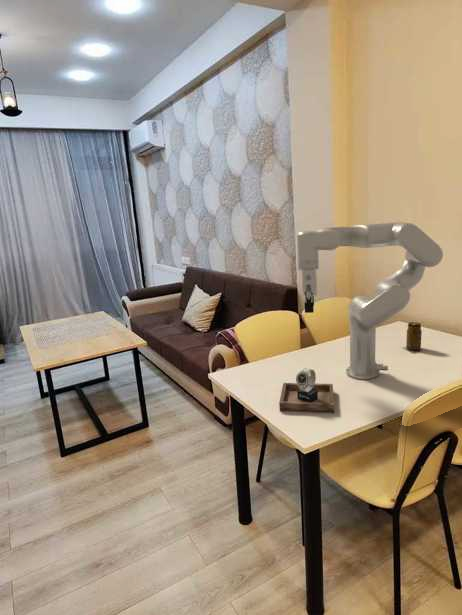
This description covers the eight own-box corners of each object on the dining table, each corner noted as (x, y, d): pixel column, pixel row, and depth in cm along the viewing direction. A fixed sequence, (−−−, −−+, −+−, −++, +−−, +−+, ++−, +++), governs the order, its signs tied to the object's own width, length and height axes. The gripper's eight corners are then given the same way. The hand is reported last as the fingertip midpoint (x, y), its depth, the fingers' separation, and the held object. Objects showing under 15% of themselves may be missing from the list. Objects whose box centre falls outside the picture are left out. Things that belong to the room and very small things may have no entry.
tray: (332, 391, 150) (332, 383, 149) (334, 413, 135) (334, 404, 134) (283, 390, 154) (283, 382, 153) (279, 411, 139) (279, 402, 138)
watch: (294, 400, 143) (293, 371, 141) (307, 392, 149) (306, 364, 146) (307, 405, 139) (306, 375, 137) (320, 396, 145) (320, 367, 142)
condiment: (415, 345, 189) (416, 320, 186) (427, 351, 181) (429, 325, 178) (401, 347, 188) (402, 322, 185) (413, 353, 180) (414, 327, 177)
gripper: (318, 268, 143) (319, 315, 147) (318, 261, 160) (319, 303, 164) (296, 268, 145) (298, 315, 149) (299, 261, 161) (300, 303, 165)
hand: (309, 309), depth 156 cm, fingers open, 9 cm apart
